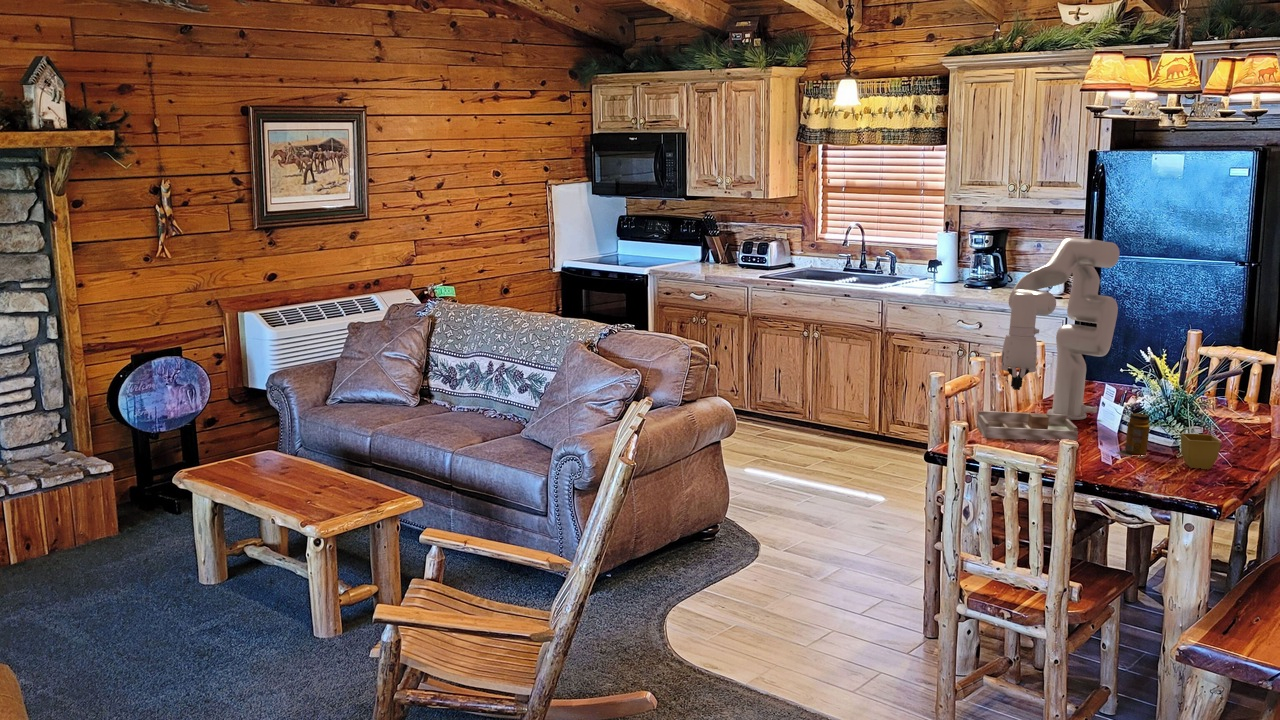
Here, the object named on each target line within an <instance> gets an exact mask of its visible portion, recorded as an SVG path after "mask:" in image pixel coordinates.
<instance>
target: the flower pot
mask: <svg viewBox="0 0 1280 720" xmlns="http://www.w3.org/2000/svg"><path fill="white" fill-rule="evenodd" d="M1221 446H1222V441H1221V440H1219V439H1218V438H1217V437H1216V436H1214V435H1212V434H1200V433H1189V432H1188V433H1184V432H1181V433H1180V449H1181V450H1180V451H1181V456H1182V458H1183V460H1184V461H1183V462H1184V463H1185V465H1186V466H1188V467H1189V468H1190V467H1191V468H1190V469H1192V468H1201V469H1200V470H1206V469H1207V470H1210V469H1211V468H1212V467H1213V466H1215V465H1214V464H1216V461H1217V460H1218V457H1219V453H1220V449H1221Z"/></svg>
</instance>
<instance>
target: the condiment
mask: <svg viewBox="0 0 1280 720" xmlns="http://www.w3.org/2000/svg"><path fill="white" fill-rule="evenodd" d="M1129 417H1130V418H1129V420H1128V423H1127V429H1126V438H1125V448H1124V449H1122V450H1119V451H1116V454H1120V455H1123V456H1127V457H1133V456H1132V455H1140V456H1139V457H1136V458H1139V459H1141V458H1143V457H1145V456H1141V455H1146V453H1149V452H1147V451H1148V445H1149V444H1148V443H1149V437H1150V436H1149V434H1150V429H1151V428H1150V427H1151V426H1150V424H1149V423H1150V416H1149V415H1148V414H1145V413H1139V412H1137V413H1136V412H1133V413H1131V414H1130V415H1129ZM1133 458H1134V457H1133Z"/></svg>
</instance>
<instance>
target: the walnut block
mask: <svg viewBox="0 0 1280 720" xmlns="http://www.w3.org/2000/svg"><path fill="white" fill-rule="evenodd" d="M1028 413H1029V418H1028V426H1029V427H1030V428H1031V429H1048V422H1049V417H1048V416H1047V415H1046V414H1047V413H1040V414H1038V413H1036V412H1034V413H1033V412H1028Z"/></svg>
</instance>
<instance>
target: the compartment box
mask: <svg viewBox="0 0 1280 720" xmlns="http://www.w3.org/2000/svg"><path fill="white" fill-rule="evenodd" d="M1029 413H1030V412H1015V411H1014V412H1013V411H997V410H996V411H995V410H994V411H993V410H992V411H991V410H978V411H977V418H976V419H977V422H976V428H977V429H978V431H979V432H980V433H981V435H982V436H983V437H984V438H985V439H997V440H999V439H1000V440H1001V439H1002V440H1016V439H1026V440H1025V441H1037V440H1042V439H1045V440H1046V439H1047V440H1050V439H1055V440H1057V439H1059V440H1061V439H1069V440H1075V441H1077V442H1078V436H1079V431H1078V427H1077V426H1076V425H1075V423H1073V422H1072V420H1069V419H1067V418H1068V415H1062V414H1047V413H1045V414H1046V415H1047V416H1048V417H1049V422H1048V429H1031V428H1030V427H1029V426H1028V418H1029ZM1038 414H1041V413H1038ZM1058 442H1059V441H1058ZM1059 443H1060V442H1059Z"/></svg>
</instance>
